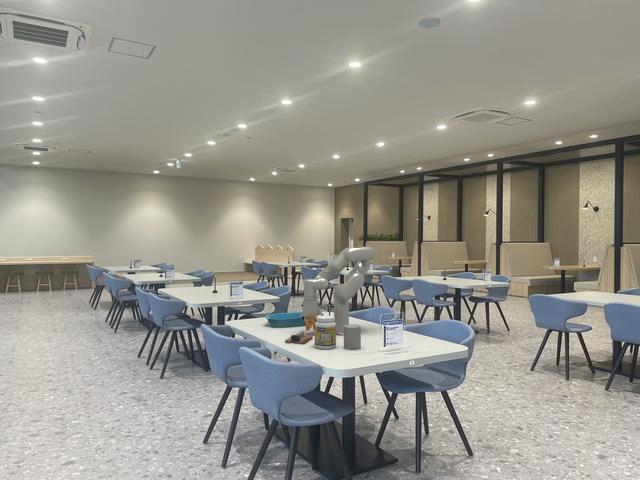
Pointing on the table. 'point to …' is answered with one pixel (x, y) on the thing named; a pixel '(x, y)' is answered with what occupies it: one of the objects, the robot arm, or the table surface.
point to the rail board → (303, 341)
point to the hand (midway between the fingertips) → (312, 326)
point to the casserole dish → (285, 320)
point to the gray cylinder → (352, 337)
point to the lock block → (310, 322)
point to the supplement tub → (325, 332)
